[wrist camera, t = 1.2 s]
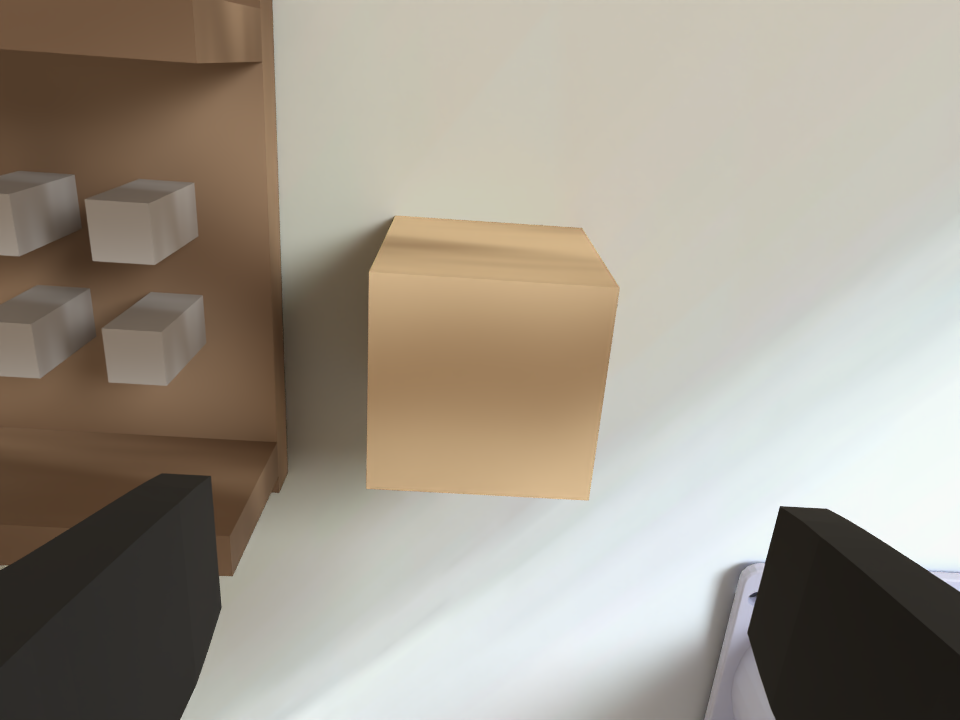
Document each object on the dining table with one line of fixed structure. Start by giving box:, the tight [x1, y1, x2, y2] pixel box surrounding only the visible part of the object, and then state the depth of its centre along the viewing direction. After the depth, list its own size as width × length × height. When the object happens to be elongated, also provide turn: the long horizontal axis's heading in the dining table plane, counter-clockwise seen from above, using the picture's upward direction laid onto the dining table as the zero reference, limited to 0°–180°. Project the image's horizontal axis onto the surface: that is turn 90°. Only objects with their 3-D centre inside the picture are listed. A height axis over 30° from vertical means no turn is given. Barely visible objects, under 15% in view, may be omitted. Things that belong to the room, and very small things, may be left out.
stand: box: [0, 0, 288, 576], centre depth 16 cm, size 12×7×5 cm, turn 176°
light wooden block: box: [366, 216, 620, 500], centre depth 16 cm, size 4×4×5 cm
